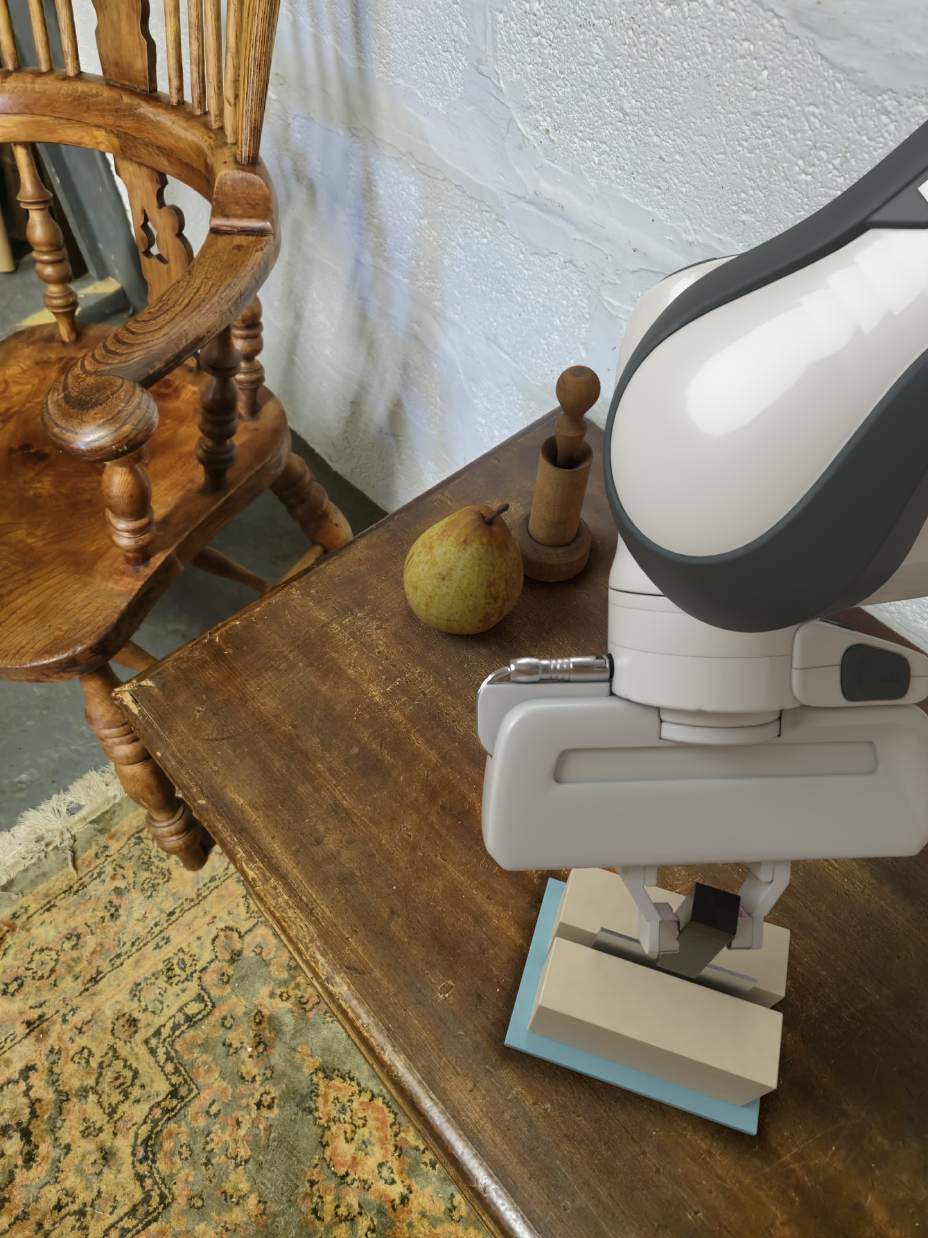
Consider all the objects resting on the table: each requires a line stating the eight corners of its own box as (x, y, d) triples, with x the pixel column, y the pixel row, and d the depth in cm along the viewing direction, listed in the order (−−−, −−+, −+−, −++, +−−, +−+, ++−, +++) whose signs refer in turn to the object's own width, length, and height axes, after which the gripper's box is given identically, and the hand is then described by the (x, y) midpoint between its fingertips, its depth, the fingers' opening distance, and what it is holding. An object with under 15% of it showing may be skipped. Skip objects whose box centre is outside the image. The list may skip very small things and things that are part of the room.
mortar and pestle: (539, 594, 68) (571, 415, 53) (493, 543, 71) (512, 361, 57) (603, 562, 70) (650, 381, 56) (556, 514, 73) (589, 331, 59)
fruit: (382, 602, 67) (375, 491, 57) (469, 549, 70) (477, 437, 61) (452, 673, 63) (457, 567, 53) (541, 613, 66) (560, 504, 57)
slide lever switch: (771, 953, 51) (811, 918, 46) (753, 1136, 45) (796, 1119, 40) (548, 880, 53) (561, 838, 48) (503, 1045, 48) (513, 1017, 42)
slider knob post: (725, 994, 47) (810, 917, 37) (721, 1027, 46) (807, 958, 36) (586, 946, 48) (630, 860, 38) (579, 978, 47) (622, 897, 37)
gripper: (480, 672, 34) (483, 995, 36) (972, 661, 35) (949, 973, 37) (469, 646, 40) (471, 922, 42) (886, 638, 41) (871, 905, 43)
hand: (699, 946), depth 39 cm, fingers closed on slider knob post, 2 cm apart
